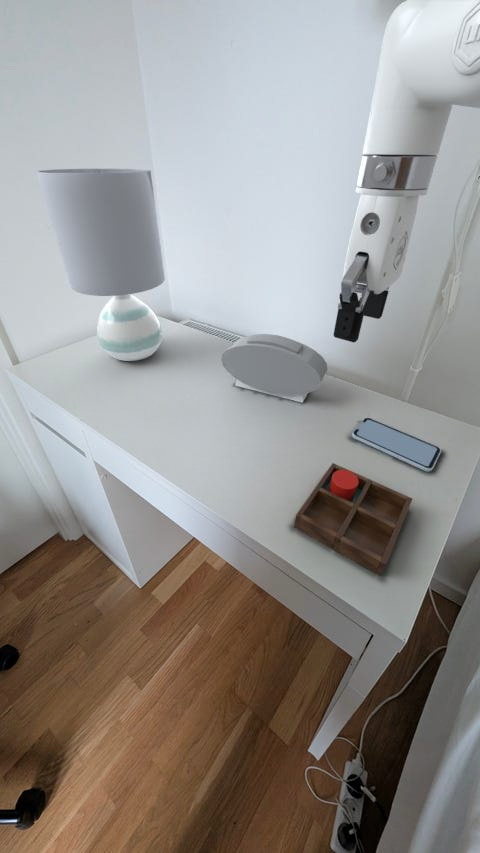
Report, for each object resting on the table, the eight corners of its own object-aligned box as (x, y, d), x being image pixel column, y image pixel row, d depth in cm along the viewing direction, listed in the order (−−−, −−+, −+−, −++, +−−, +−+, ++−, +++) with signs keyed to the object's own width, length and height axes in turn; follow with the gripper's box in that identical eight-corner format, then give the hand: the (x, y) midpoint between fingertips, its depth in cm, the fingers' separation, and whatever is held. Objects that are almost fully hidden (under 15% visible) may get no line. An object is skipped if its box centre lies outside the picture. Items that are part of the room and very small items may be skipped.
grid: (406, 511, 53) (412, 498, 51) (379, 576, 45) (386, 564, 43) (329, 475, 59) (332, 462, 57) (293, 527, 50) (296, 514, 48)
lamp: (89, 377, 83) (22, 173, 58) (97, 340, 100) (48, 168, 74) (177, 368, 87) (151, 172, 61) (171, 333, 103) (149, 167, 78)
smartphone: (431, 471, 58) (350, 434, 65) (429, 474, 59) (349, 437, 66) (442, 448, 63) (366, 415, 70) (440, 451, 63) (364, 419, 70)
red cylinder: (357, 491, 55) (362, 476, 53) (348, 507, 52) (353, 493, 50) (334, 480, 57) (338, 465, 54) (324, 495, 54) (327, 481, 52)
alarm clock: (323, 393, 78) (332, 342, 70) (316, 407, 74) (325, 354, 66) (233, 372, 86) (232, 323, 78) (221, 383, 81) (220, 333, 73)
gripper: (407, 183, 30) (362, 358, 41) (446, 174, 41) (402, 314, 52) (328, 179, 33) (306, 342, 44) (384, 172, 44) (355, 304, 55)
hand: (358, 327), depth 48 cm, fingers open, 9 cm apart
